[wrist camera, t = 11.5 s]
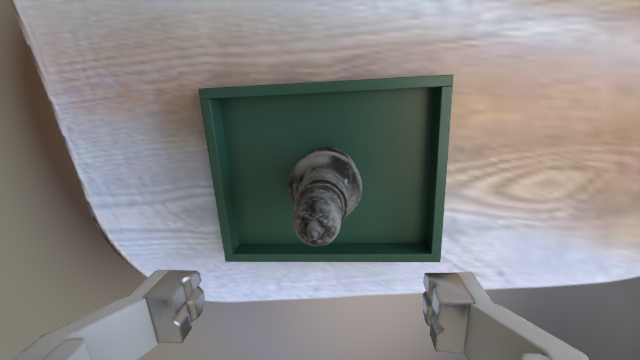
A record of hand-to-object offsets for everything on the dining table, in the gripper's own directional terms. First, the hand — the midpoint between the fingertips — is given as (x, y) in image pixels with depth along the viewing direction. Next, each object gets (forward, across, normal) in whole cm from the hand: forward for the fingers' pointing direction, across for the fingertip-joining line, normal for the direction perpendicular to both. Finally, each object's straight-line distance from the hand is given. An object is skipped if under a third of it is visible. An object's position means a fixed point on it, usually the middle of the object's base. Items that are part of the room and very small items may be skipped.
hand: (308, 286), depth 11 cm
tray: (+17, 0, +1) cm, 17 cm away
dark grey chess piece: (+17, 0, +1) cm, 17 cm away
